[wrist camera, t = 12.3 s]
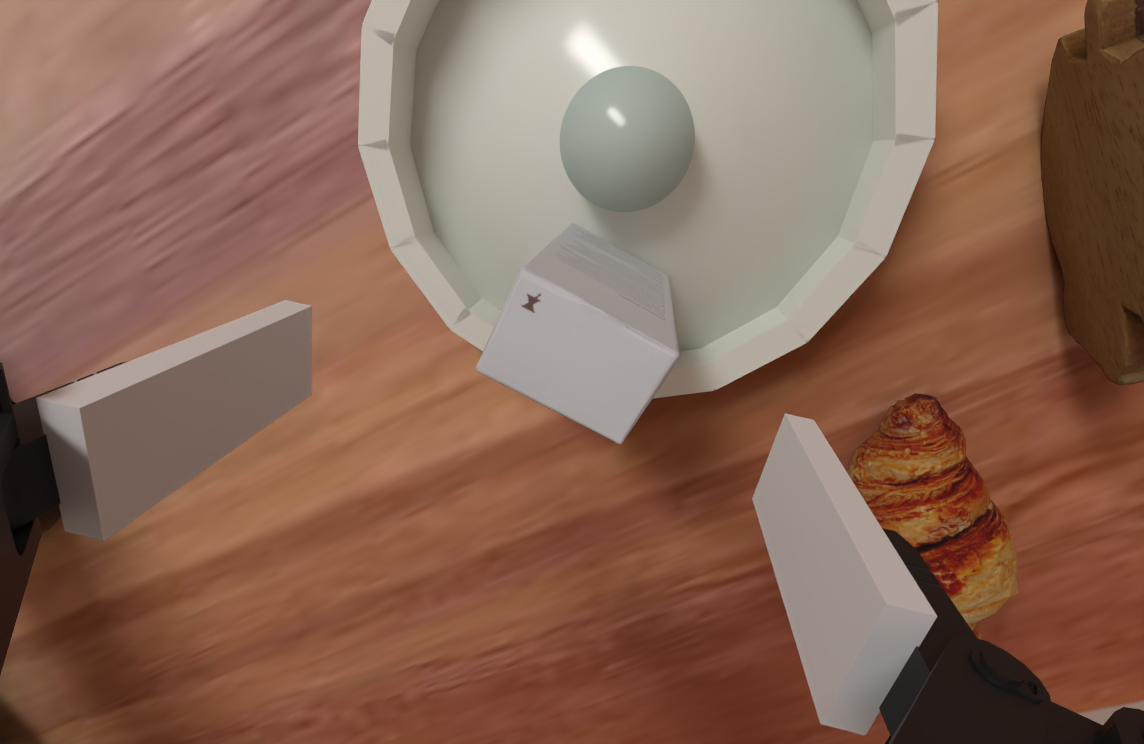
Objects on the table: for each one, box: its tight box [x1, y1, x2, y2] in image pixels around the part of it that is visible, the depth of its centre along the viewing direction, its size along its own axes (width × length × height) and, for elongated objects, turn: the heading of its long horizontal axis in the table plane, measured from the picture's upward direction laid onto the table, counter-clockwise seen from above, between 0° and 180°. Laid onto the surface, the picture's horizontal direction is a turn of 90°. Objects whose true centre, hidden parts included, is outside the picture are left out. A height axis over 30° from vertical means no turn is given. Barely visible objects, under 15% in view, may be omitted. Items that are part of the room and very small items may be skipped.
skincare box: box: [476, 223, 681, 444], centre depth 24 cm, size 6×4×12 cm
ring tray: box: [358, 0, 938, 398], centre depth 26 cm, size 25×25×4 cm
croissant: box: [846, 393, 1018, 640], centre depth 31 cm, size 21×10×8 cm, turn 11°
